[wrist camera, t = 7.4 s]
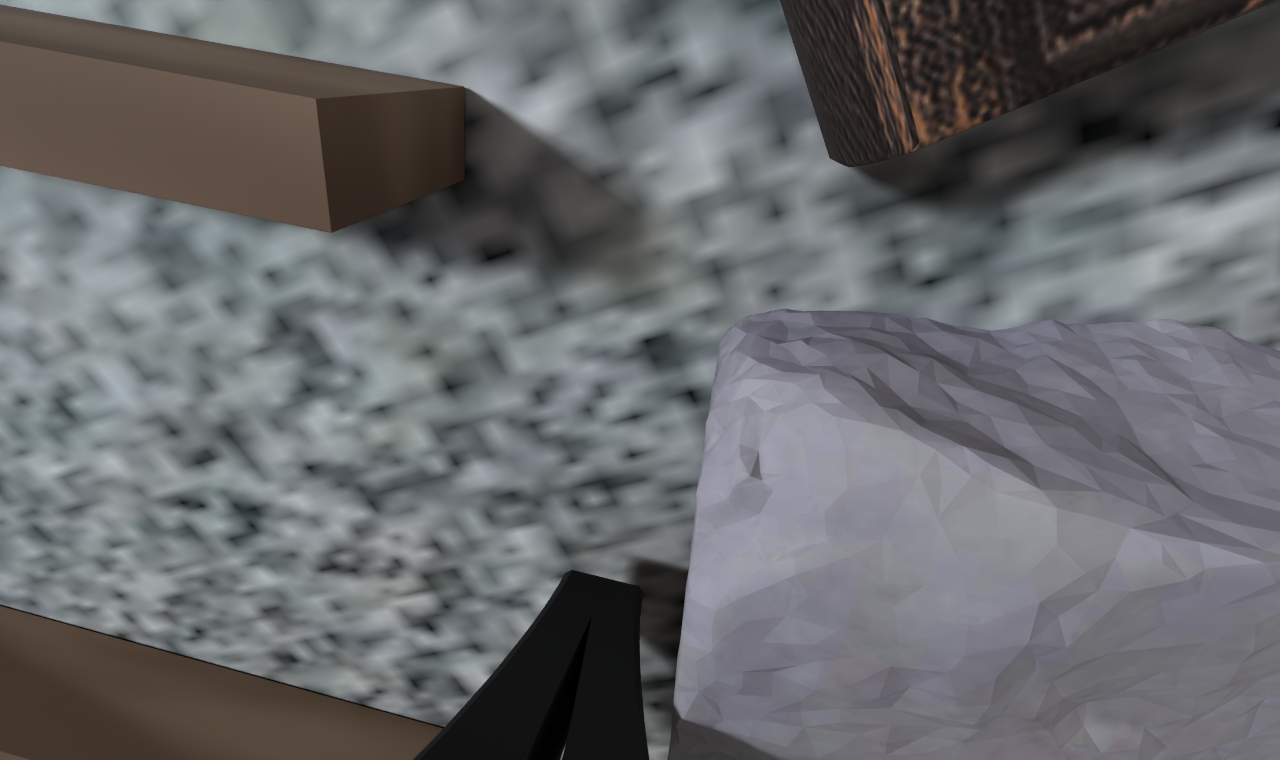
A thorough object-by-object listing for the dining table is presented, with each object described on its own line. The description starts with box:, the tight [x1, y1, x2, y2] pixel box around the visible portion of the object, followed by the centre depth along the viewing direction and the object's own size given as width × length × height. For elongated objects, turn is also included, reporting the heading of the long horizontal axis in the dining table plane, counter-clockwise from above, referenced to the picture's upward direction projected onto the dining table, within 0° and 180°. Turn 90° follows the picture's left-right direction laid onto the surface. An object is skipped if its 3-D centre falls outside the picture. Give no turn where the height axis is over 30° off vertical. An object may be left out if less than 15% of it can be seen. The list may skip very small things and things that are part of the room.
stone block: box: [668, 309, 1280, 760], centre depth 10 cm, size 12×5×10 cm
